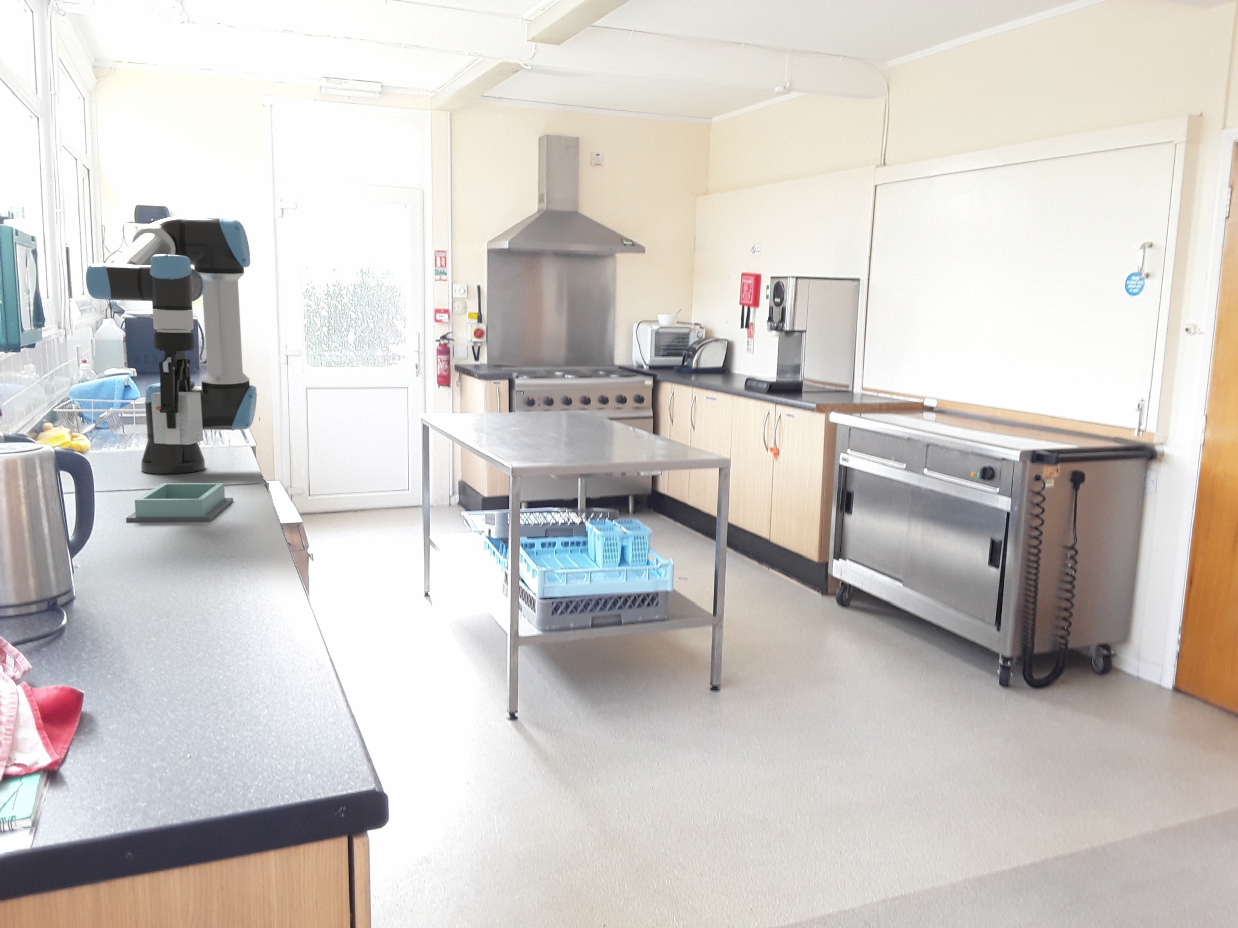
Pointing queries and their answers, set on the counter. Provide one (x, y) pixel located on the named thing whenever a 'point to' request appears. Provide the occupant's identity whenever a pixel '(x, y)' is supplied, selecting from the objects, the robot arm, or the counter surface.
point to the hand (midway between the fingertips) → (178, 441)
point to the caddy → (180, 503)
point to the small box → (188, 418)
